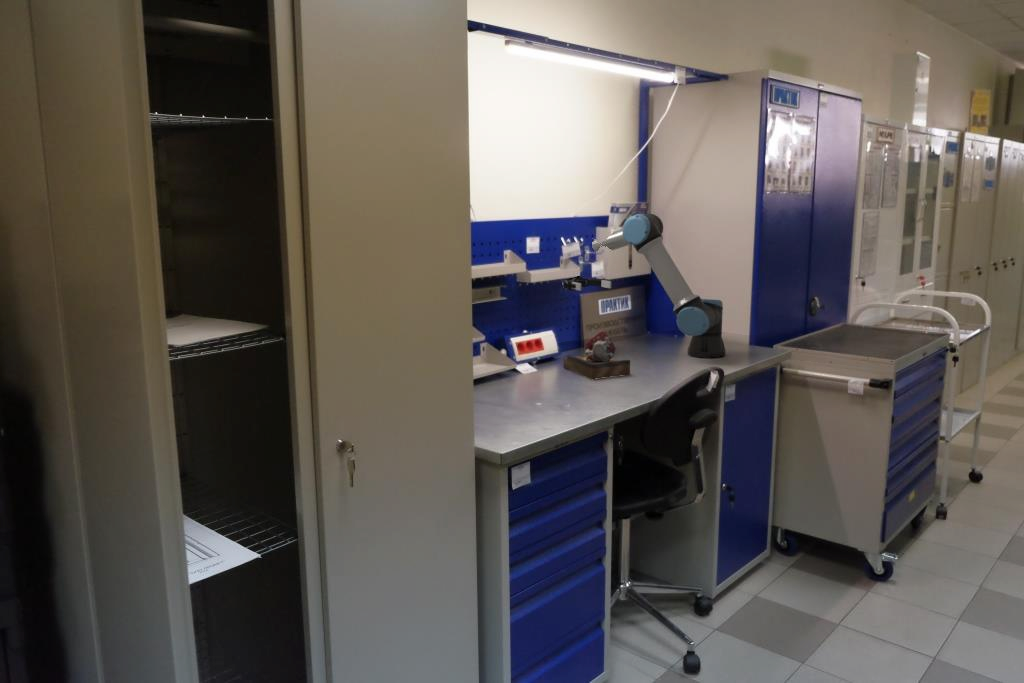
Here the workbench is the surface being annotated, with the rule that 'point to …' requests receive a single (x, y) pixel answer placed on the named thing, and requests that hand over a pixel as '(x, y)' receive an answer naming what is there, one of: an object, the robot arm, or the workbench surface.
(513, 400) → the workbench surface
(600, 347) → the brake caliper
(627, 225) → the robot arm
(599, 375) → the dock
